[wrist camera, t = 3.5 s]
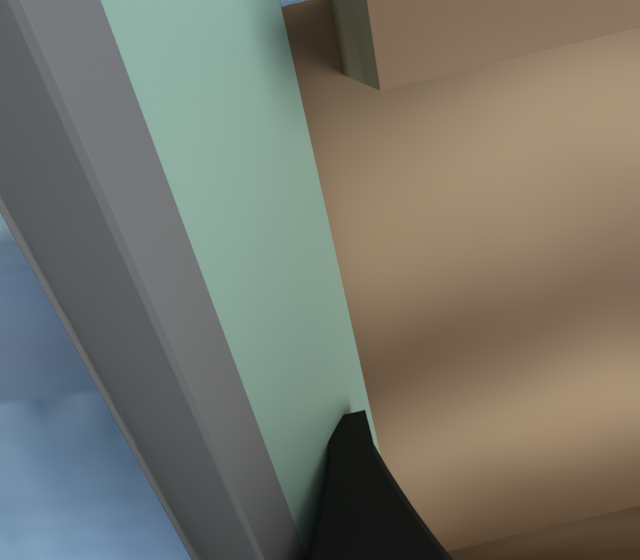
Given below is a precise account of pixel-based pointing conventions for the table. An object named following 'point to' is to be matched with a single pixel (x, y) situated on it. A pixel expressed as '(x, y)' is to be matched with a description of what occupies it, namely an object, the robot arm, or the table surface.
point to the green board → (185, 251)
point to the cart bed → (489, 256)
